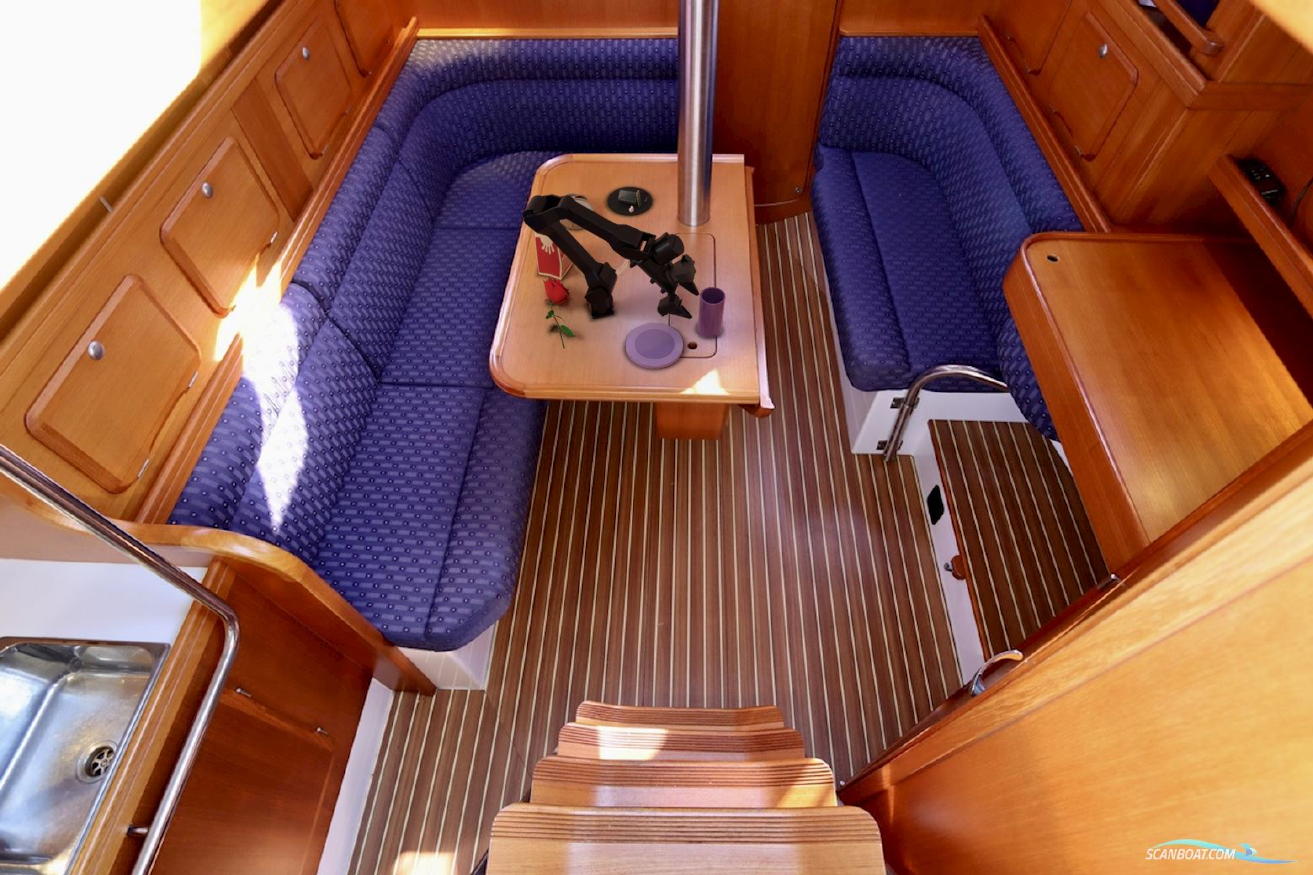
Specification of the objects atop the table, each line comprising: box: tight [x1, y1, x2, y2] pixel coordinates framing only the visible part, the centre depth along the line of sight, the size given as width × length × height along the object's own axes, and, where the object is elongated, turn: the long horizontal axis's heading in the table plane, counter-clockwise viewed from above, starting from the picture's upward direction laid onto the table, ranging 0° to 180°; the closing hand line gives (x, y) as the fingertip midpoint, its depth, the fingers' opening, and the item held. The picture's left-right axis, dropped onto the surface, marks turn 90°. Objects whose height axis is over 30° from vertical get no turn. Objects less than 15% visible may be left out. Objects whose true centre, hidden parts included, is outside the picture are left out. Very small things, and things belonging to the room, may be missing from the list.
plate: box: [625, 322, 684, 370], centre depth 181 cm, size 16×16×1 cm
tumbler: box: [697, 286, 726, 339], centre depth 180 cm, size 7×7×13 cm
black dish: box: [606, 186, 653, 217], centre depth 215 cm, size 15×15×6 cm
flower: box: [542, 276, 576, 350], centre depth 183 cm, size 9×10×30 cm
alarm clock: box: [560, 193, 595, 230], centre depth 212 cm, size 11×5×15 cm
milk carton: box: [533, 221, 574, 281], centre depth 191 cm, size 9×9×20 cm
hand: (694, 306), depth 179 cm, fingers open, 9 cm apart
